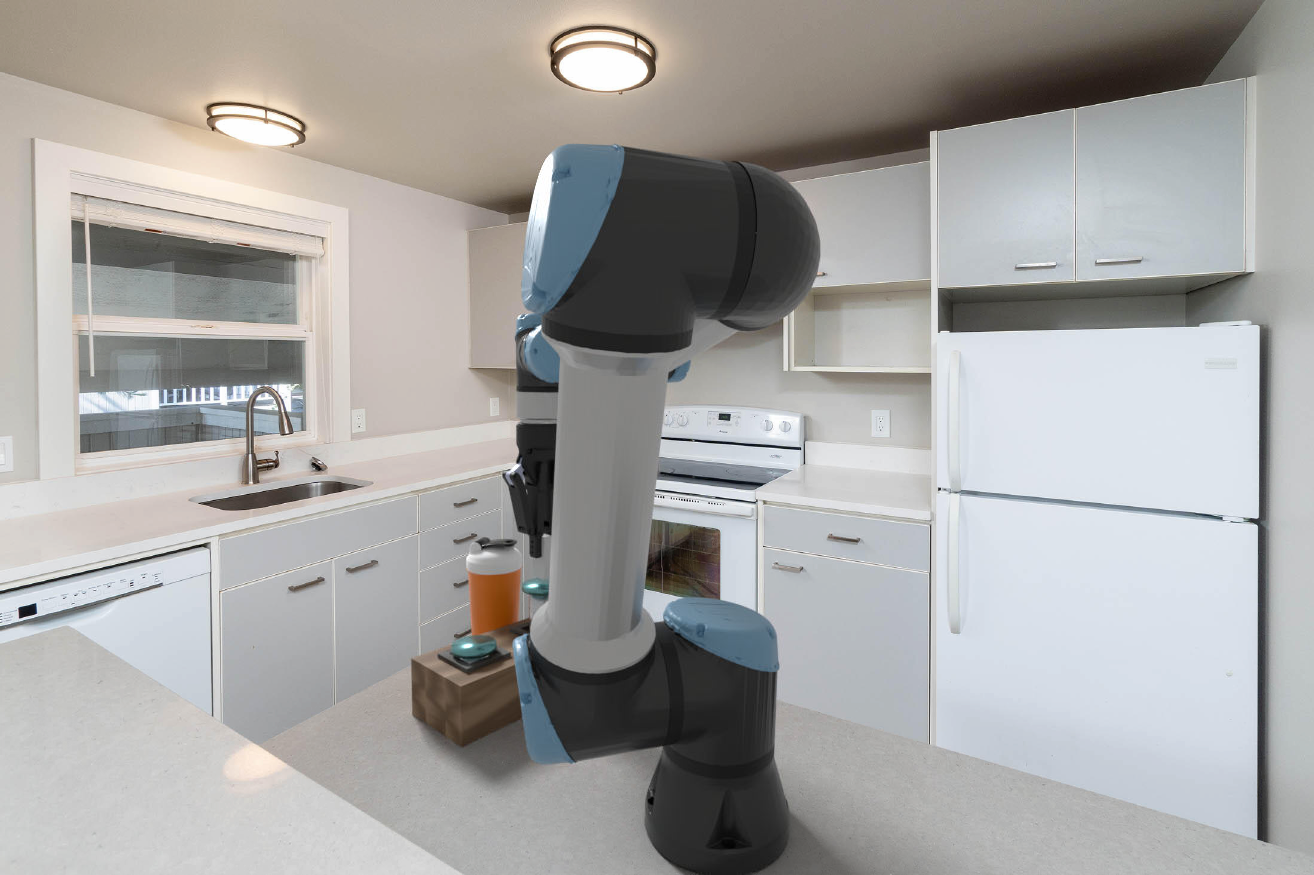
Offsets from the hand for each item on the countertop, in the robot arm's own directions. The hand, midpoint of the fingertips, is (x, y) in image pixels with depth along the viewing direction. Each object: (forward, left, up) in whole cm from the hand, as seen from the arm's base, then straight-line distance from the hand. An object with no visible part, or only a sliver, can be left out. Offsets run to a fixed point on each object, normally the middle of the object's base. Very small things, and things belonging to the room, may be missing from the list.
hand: (542, 576), depth 97 cm
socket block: (0, +6, -17) cm, 18 cm away
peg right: (0, 0, -11) cm, 11 cm away
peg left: (0, +12, -16) cm, 20 cm away
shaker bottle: (+12, 0, -17) cm, 21 cm away
